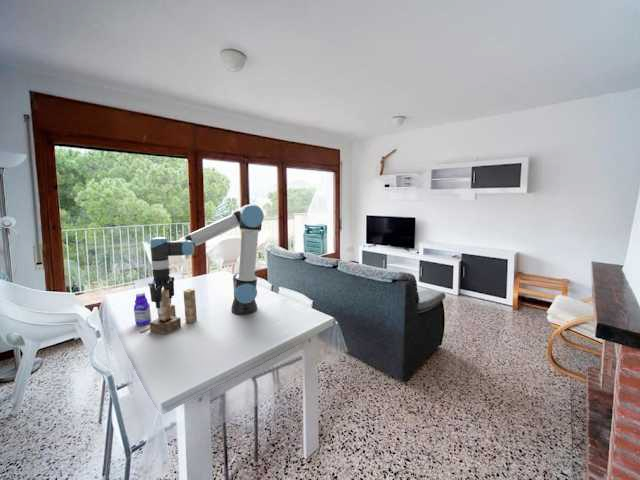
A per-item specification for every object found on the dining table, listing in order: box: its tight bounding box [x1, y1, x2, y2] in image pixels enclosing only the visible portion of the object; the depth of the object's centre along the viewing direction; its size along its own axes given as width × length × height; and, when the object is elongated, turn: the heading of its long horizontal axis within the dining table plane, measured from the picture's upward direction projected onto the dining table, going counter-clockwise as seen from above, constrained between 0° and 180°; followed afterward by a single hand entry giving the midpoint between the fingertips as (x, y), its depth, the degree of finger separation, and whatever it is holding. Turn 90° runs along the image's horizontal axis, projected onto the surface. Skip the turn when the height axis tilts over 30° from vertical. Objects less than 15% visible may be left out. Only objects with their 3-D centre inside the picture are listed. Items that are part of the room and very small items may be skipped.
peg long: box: [183, 288, 198, 324], centre depth 157 cm, size 4×4×18 cm
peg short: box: [170, 303, 177, 317], centre depth 164 cm, size 4×4×7 cm
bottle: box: [133, 291, 152, 326], centre depth 154 cm, size 7×6×17 cm
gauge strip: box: [139, 326, 150, 334], centre depth 152 cm, size 15×2×1 cm, turn 158°
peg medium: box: [157, 288, 171, 321], centre depth 147 cm, size 4×4×15 cm
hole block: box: [149, 316, 182, 336], centre depth 149 cm, size 10×10×5 cm
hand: (164, 311), depth 148 cm, fingers closed on peg medium, 4 cm apart
